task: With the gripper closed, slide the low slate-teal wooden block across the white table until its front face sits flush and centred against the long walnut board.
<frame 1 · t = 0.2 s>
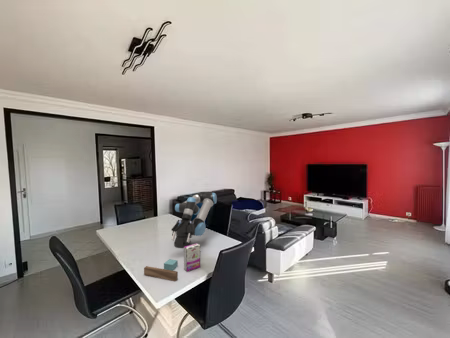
hand: (180, 241, 156), 15 cm above the table, tool tilted 35°, fingers open, 13 cm apart
walnut board: (160, 277, 133), on the table
candy bar box: (192, 268, 145), on the table
teal block: (170, 268, 145), on the table
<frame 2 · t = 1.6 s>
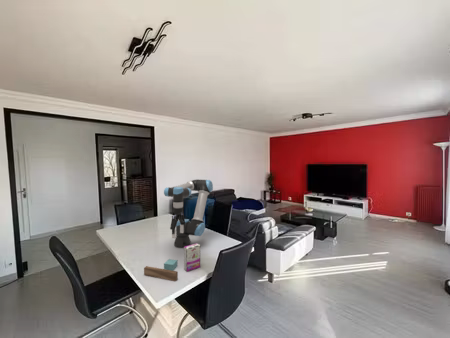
hand: (177, 235, 155), 20 cm above the table, tool pointing down, fingers open, 11 cm apart
nothing on the table moved.
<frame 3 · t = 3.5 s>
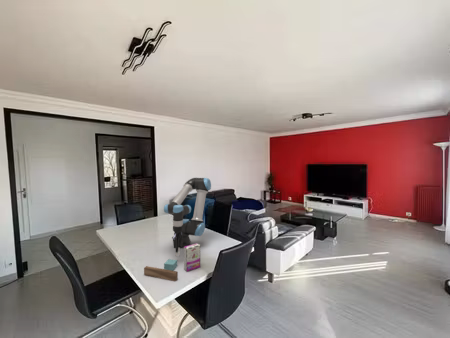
hand: (177, 255, 155), 4 cm above the table, tool pointing down, fingers closed
nothing on the table moved.
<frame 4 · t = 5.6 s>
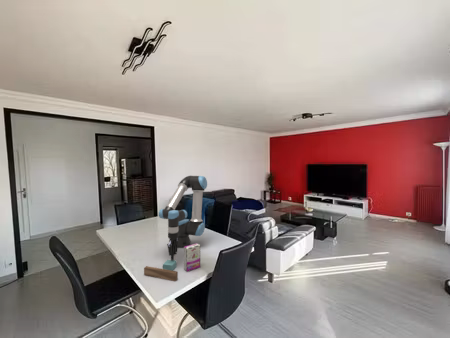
hand: (173, 263, 148), 2 cm above the table, tool pointing down, fingers closed
teal block: (169, 268, 144), on the table
everything else where it was.
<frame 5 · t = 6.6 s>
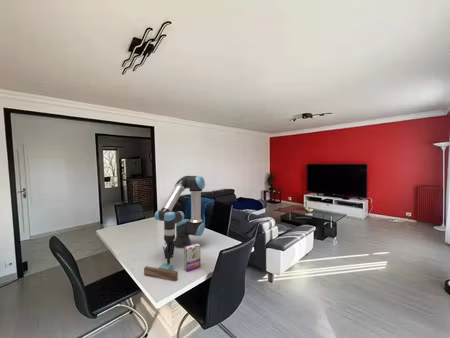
hand: (169, 266, 144), 2 cm above the table, tool pointing down, fingers closed
teal block: (165, 272, 140), on the table, touching gripper
everything else where it was.
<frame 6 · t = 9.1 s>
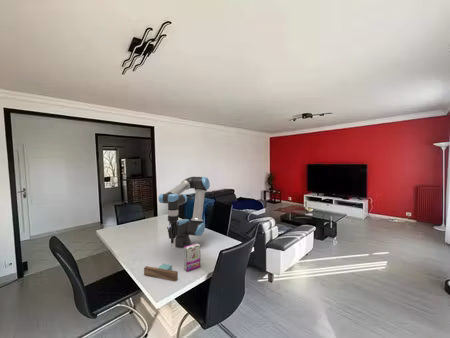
hand: (173, 246, 148), 14 cm above the table, tool pointing down, fingers closed
teal block: (164, 273, 139), on the table
everything else where it was.
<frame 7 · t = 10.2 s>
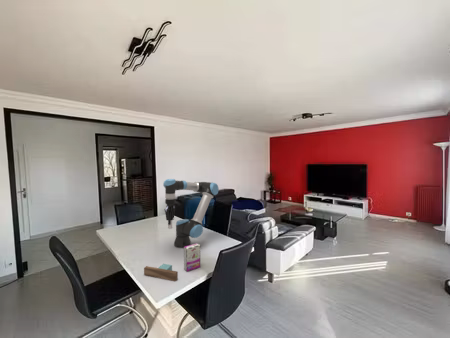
hand: (170, 228, 159), 24 cm above the table, tool pointing down, fingers closed
nothing on the table moved.
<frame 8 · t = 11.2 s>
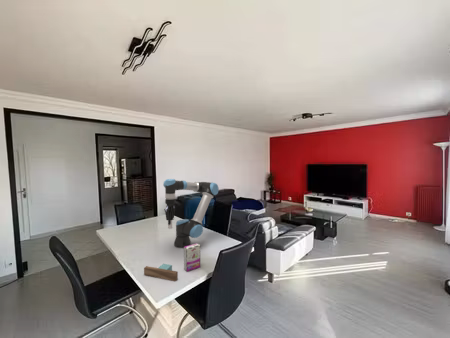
hand: (170, 228, 159), 24 cm above the table, tool pointing down, fingers closed
nothing on the table moved.
at the end: teal block 0.4 cm from the target spot on the table beside the walnut board, on the table; teal block tilted 0°; the gripper is holding nothing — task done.
